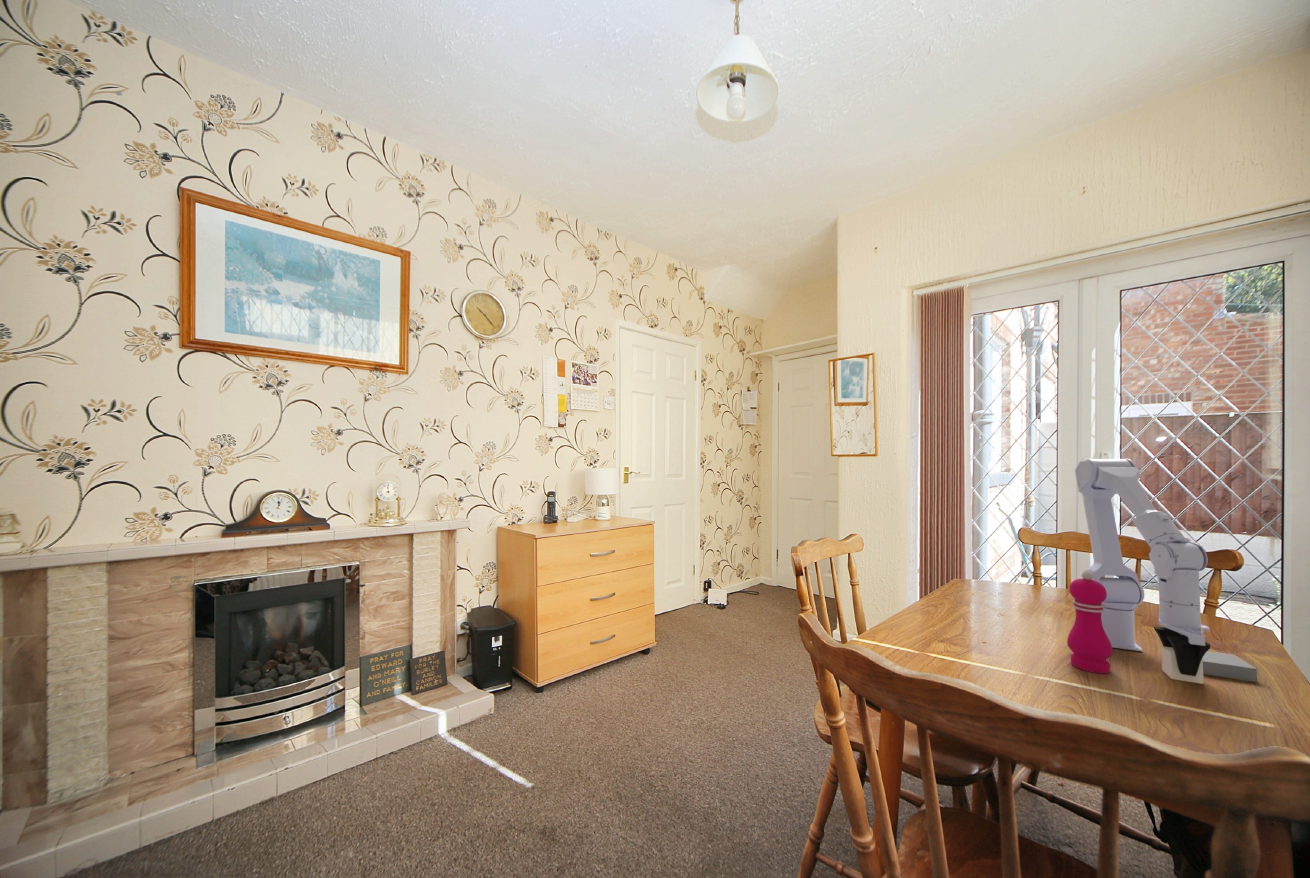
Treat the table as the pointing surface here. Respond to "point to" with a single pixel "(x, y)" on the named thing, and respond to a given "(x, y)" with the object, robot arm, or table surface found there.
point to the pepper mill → (1089, 626)
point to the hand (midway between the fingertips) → (1182, 669)
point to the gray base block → (1228, 666)
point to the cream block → (1172, 668)
